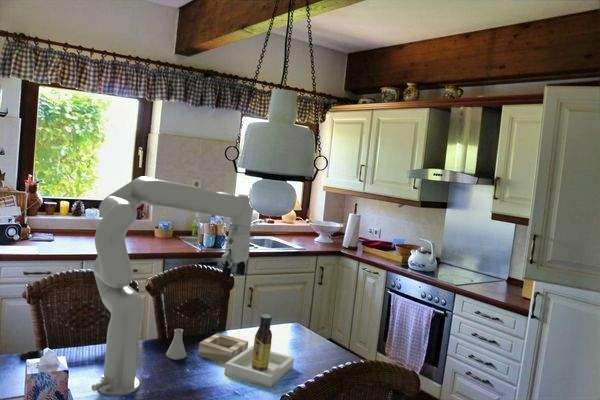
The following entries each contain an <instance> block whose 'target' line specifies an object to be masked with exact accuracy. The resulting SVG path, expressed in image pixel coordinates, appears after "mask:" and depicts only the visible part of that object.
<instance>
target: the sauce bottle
mask: <svg viewBox="0 0 600 400" xmlns="http://www.w3.org/2000/svg"><path fill="white" fill-rule="evenodd" d="M272 319H273V318H272V315H270V314H269V313H267V314H266V313H263V314H261V315H260V321H259V327H258V329H257V331H256V333H255V335H254V341H253V346H254V347H253V356H252V368H253V369H255V370H258V371H264V370H267V368H268V364H269V357H270V351H272V349H271V348H272V339H273V334H272V330H271V323H272Z"/></svg>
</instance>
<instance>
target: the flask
mask: <svg viewBox="0 0 600 400" xmlns="http://www.w3.org/2000/svg"><path fill="white" fill-rule="evenodd" d="M173 332H174V334H173V335H174V336H173V339H172V341H171V344H170V345H169V348H168V349H167V352H166V353H165V356H166V357H167V358H168V359H171V360H183V359H185V358H186V357H187V356H188V355H187V351H186V349H185V345H184V342H183V341H184V340H183V333H184V329H182V328H176V329H174V330H173Z"/></svg>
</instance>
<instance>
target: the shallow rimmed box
mask: <svg viewBox="0 0 600 400" xmlns="http://www.w3.org/2000/svg"><path fill="white" fill-rule="evenodd" d="M248 348H249V341H248V340H245V339H240V338H237V337H234V336H231V335H226V334H223V333H220V332H217V333H215V334H213V335H211V336H210V337H208V338H205V339H203V340H202V341H200V342H199V344H198V352H197V353H198V354H197V356H199V357H202V358H205V359H209V360H212V361H215V362H219V363H221V364H225V363H226V362H228V361H229V360H231V359H232V358H234V357H236V356H237V355H239V354H240V353H242V352H243V351H245V350H246V349H248Z"/></svg>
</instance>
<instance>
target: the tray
mask: <svg viewBox="0 0 600 400" xmlns="http://www.w3.org/2000/svg"><path fill="white" fill-rule="evenodd" d="M253 347H254V345H251V346H250V347H249V346H248V349H246V350H245V351H243V352H242V353H240V354H239V355H237V356H236V357H234V358H232V359H231V360H229V361H228V362H226V363H225V365H224V375H227V376H229V377H232V378H235V379H239V380H242V381H245V382H248V383H252V384H255V385H258V386H261V387H264V388H267V389H271V388H272V387H274V386H275V385H276V384H277V383H278V382H279V381H281V379H282V378H284V377H285V376H286V375H287V374H289V373H290V371H291V370H293V369H294V363H295V357H292V356H289V355H286V354H282V353H279V352H275V351H272V350H270V357H269V364H268V368H267V370H264V371H258V370H255V369H253V368H252V356H253Z"/></svg>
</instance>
